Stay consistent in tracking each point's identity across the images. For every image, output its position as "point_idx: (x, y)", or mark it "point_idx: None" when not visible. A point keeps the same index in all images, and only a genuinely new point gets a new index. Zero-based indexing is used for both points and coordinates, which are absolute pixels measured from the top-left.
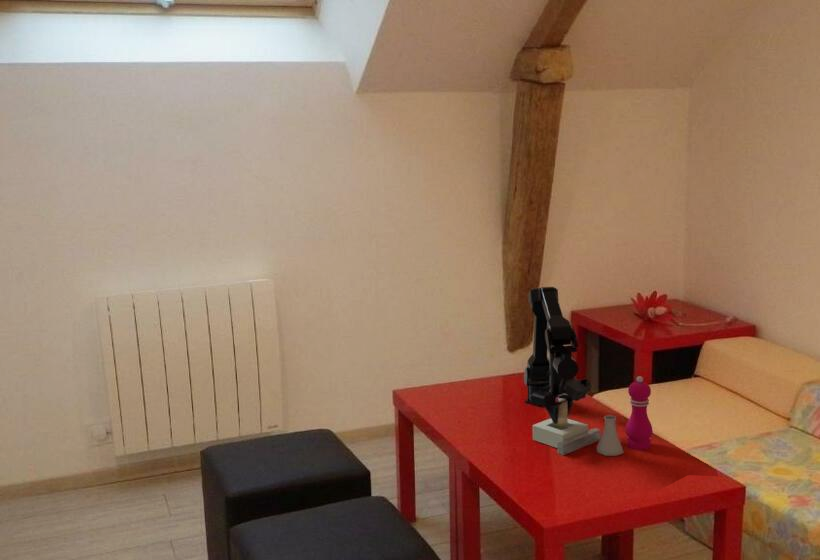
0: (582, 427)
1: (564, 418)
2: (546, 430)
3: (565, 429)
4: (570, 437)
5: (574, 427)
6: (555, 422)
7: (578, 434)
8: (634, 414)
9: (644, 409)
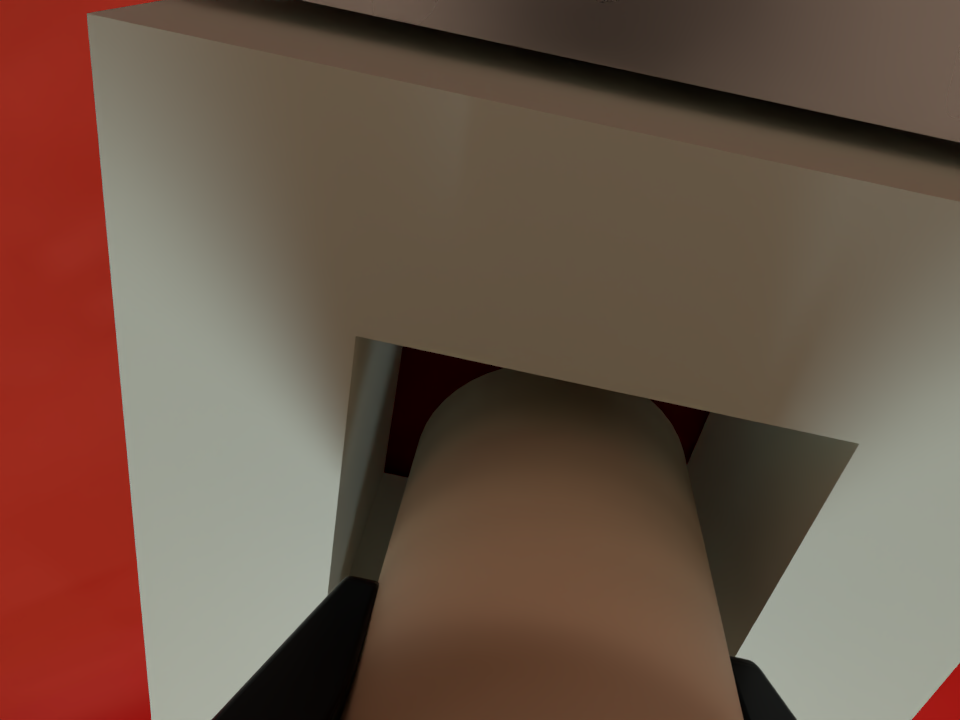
0: (363, 68)
1: (647, 651)
2: (943, 659)
3: (768, 386)
4: (861, 150)
5: (515, 258)
6: (768, 697)
7: (590, 62)
8: None
9: None
